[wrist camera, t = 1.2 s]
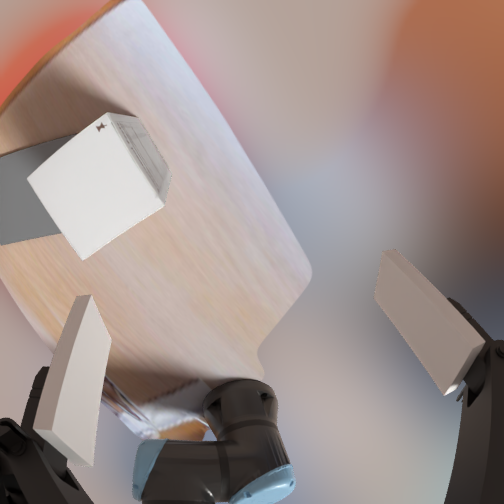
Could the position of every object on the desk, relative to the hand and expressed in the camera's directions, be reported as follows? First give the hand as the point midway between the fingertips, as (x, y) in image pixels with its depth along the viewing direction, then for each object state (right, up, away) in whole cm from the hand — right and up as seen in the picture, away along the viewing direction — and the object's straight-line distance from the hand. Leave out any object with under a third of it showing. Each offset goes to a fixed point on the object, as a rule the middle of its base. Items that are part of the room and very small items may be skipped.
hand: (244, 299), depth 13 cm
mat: (-31, +10, +21) cm, 39 cm away
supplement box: (-16, +13, +23) cm, 31 cm away
